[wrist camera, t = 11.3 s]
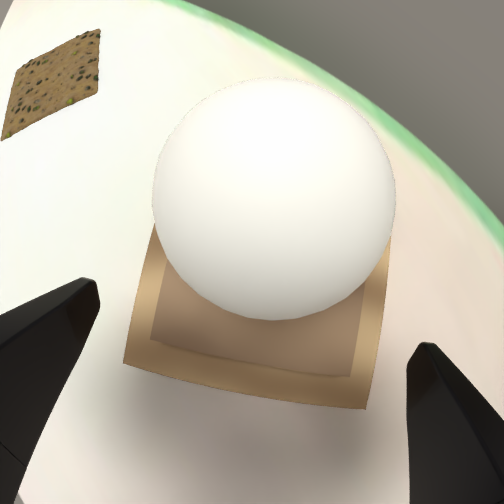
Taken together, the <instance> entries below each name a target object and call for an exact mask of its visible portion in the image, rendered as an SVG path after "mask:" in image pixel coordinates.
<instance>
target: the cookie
mask: <svg viewBox="0 0 504 504" xmlns="http://www.w3.org/2000/svg"><path fill="white" fill-rule="evenodd" d="M100 32H101V31H100V29H96V30H93V31H90V32H89V31H87V32H85V33H83V34H82V35H78V36H76V37H75V38H73V39H71V40H69V41H67V42H66V43H64V44H62V45H60V46H58V47H56V48H55V49H53V50H51V51H49V52H47V53H45V54H43V55H40V56H38V57H37V58H35V59H31V60H30V61H29V62H28V63H27V64H24V65H23V66H22V67H21V68H19V69H18V70H17V72H16V75H15V78H14V82H13V86H12V88H11V94H10V98H9V102H8V106H7V111H6V114H5V120H4V125H3V130H2V136H1V141H3V140H4V139H6V138H9V137H11V136H12V135H13V134H15V133H17V132H19V131H20V130H23V129H24V128H26V127H27V126H29V125H31V124H33V123H35V122H37V121H39V120H41V119H42V118H44V117H46V116H48V115H51V114H53V113H55V112H57V111H59V110H61V109H63V108H65V107H67V106H69V105H72V104H74V103H76V102H78V101H80V100H83V99H85V98H87V97H90V96H92V95H94V94H96V93H97V91H98V73H99V70H98V62H99V43H100Z"/></svg>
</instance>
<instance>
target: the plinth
mask: <svg viewBox="0 0 504 504" xmlns="http://www.w3.org/2000/svg"><path fill="white" fill-rule="evenodd" d="M390 242H391V236H390V238H389V241H388V243H387V245H386V248H385V250H384V252H383V255H382V257H381V258H380V260H379V262H378V263H377V265H376V266H375V268H374V269H373V270H372V272H371V273H370V275H369V276H368V277H367V279H366V280H365V281H364V282H363V283H362V284H361V285H360V286H359V287H358V288H357V289H356V290H355V291H353V292H352V293H351V294H350V295H349V296H348V297H347V298H345V299H343V300H342V301H340V302H338V303H336V304H334V305H333V306H331V307H329V308H327V309H325V310H323V311H320V312H317V313H313V314H310V315H307V316H303V317H300V318H297V319H286V320H274V321H271V320H263V319H254V318H247V317H244V316H241V315H238V314H235V313H232V312H229V311H226V310H224V309H222V308H220V307H219V306H217V305H215V304H214V303H212V302H210V301H209V300H207V299H205V298H203V297H202V296H200V295H199V294H198V293H197V292H196V291H195V290H193V289H192V288H191V287H190V286H189V285H188V284H187V283H186V282H185V281H184V280H183V279H182V278H181V277H180V276H179V274H178V273H177V272H176V270H175V269H174V267H173V266H172V264H171V263H170V262H169V260H168V259H167V257H166V254H165V252H164V249H163V247H162V245H161V242H160V240H159V237H158V234H157V231H156V227H155V223H154V227H153V230H152V234H151V238H150V242H149V245H148V249H147V253H146V257H145V261H144V265H143V269H142V273H141V277H140V281H139V286H138V290H137V294H136V299H135V303H134V308H133V313H132V317H131V322H130V327H129V332H128V337H127V343H126V348H125V354H124V359H123V363H124V364H127V365H130V366H133V367H137V368H140V369H143V370H147V371H150V372H154V373H157V374H161V375H164V376H168V377H172V378H176V379H180V380H183V381H187V382H192V383H196V384H200V385H204V386H209V387H213V388H218V389H222V390H227V391H232V392H237V393H242V394H247V395H253V396H258V397H264V398H270V399H276V400H283V401H290V402H297V403H304V404H312V405H321V406H330V407H340V408H352V409H365V410H366V405H367V401H368V397H369V392H370V387H371V382H372V378H373V373H374V367H375V362H376V356H377V351H378V345H379V339H380V332H381V326H382V319H383V311H384V304H385V296H386V287H387V277H388V267H389V255H390Z"/></svg>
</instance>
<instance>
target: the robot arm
mask: <svg viewBox="0 0 504 504" xmlns="http://www.w3.org/2000/svg"><path fill="white" fill-rule="evenodd" d="M99 309H100V299H99V294H98V289H97V284H96V282H95V281H94V280H92V279H89V278H85V277H81V278H79V279H77V280H74V281H72V282H70V283H68V284H66V285H63V286H61V287H59V288H57V289H55V290H52V291H50V292H48V293H46V294H44V295H41V296H39V297H37V298H35V299H33V300H31V301H29V302H27V303H24V304H22V305H20V306H18V307H16V308H14V309H12V310H10V311H8V312H6V313H4V314H1V315H0V504H14V501H15V498H16V495H17V493H18V490H19V487H20V485H21V482H22V479H23V477H24V474H25V472H26V469H27V466H28V464H29V461H30V459H31V457H32V454H33V452H34V449H35V447H36V445H37V442H38V440H39V438H40V436H41V433H42V431H43V429H44V427H45V425H46V422H47V420H48V418H49V416H50V414H51V412H52V410H53V408H54V405H55V403H56V401H57V399H58V397H59V395H60V393H61V391H62V389H63V387H64V385H65V383H66V381H67V379H68V377H69V375H70V373H71V372H72V370H73V368H74V366H75V364H76V362H77V360H78V358H79V356H80V354H81V352H82V350H83V348H84V345H85V343H86V340H87V338H88V336H89V333H90V331H91V328H92V326H93V324H94V321H95V319H96V317H97V315H98V312H99ZM406 373H407V406H406V416H407V432H408V448H409V479H410V504H504V420H503V419H502V418H501V417H500V415H499V414H498V413H497V412H496V411H495V410H494V408H493V407H492V406H491V405H490V404H489V403H488V401H487V400H486V399H485V398H484V397H483V396H482V395H481V393H480V392H479V391H478V390H477V389H476V388H475V387H474V385H473V384H472V383H471V382H470V381H469V380H468V379H467V378H466V377H465V375H464V374H463V373H462V372H461V371H460V370H459V369H458V368H457V367H456V366H455V364H454V363H453V362H452V361H451V360H450V359H449V358H448V357H447V356H446V355H445V354H444V353H443V352H442V350H441V349H440V348H439V347H438V346H437V345H436V344H434V343H429V342H422V343H420V344H419V345H418V347H417V349H416V350H415V352H414V353H413V355H412V357H411V358H410V360H409V361H408V364H407V370H406Z"/></svg>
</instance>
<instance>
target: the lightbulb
mask: <svg viewBox="0 0 504 504" xmlns="http://www.w3.org/2000/svg"><path fill="white" fill-rule="evenodd" d="M395 208H396V189H395V179H394V175H393V171H392V167H391V164H390V160H389V158H388V156H387V154H386V152H385V150H384V148H383V146H382V144H381V142H380V140H379V138H378V136H377V134H376V133H375V131H374V130H373V128H372V127H371V126H370V125H369V123H368V122H367V121H366V119H365V118H364V117H363V116H362V115H361V114H360V113H358V112H357V111H356V110H355V109H354V108H353V107H352V106H351V105H350V104H348V103H347V102H346V101H344V100H343V99H341V98H340V97H338V96H336V95H335V94H333V93H332V92H330V91H328V90H326V89H324V88H321V87H319V86H317V85H314V84H311V83H308V82H304V81H300V80H296V79H288V78H279V77H274V78H258V79H252V80H247V81H242V82H240V83H237V84H234V85H231V86H229V87H226V88H224V89H221V90H219V91H217V92H216V93H214V94H212V95H210V96H209V97H207V98H205V99H204V100H202V101H201V102H200V103H198V104H197V105H196V106H195V107H194V108H192V109H191V110H190V111H189V112H188V113H187V114H186V115H185V116H184V118H183V119H182V120H181V121H180V123H179V124H178V125H177V126H176V128H175V129H174V130H173V131H172V133H171V134H170V135H169V137H168V139H167V141H166V143H165V145H164V147H163V149H162V151H161V153H160V155H159V158H158V162H157V166H156V169H155V173H154V180H153V193H152V210H153V216H154V221H155V227H156V231H157V234H158V237H159V240H160V242H161V245H162V247H163V249H164V252H165V254H166V257H167V259H168V260H169V262H170V263H171V264H172V266H173V267H174V269H175V270H176V272H177V273H178V274H179V276H180V277H181V278H182V279H183V280H184V281H185V282H186V283H187V284H188V285H189V286H190V287H191V288H192V289H193V290H195V291H196V292H197V293H198V294H199V295H200V296H202V297H203V298H205V299H207V300H209V301H210V302H212V303H214V304H215V305H217V306H219V307H220V308H222V309H224V310H226V311H229V312H232V313H235V314H238V315H241V316H244V317H247V318H254V319H263V320H271V321H274V320H286V319H297V318H300V317H303V316H307V315H310V314H313V313H317V312H320V311H323V310H325V309H327V308H329V307H331V306H333V305H334V304H336V303H338V302H340V301H342V300H343V299H345V298H347V297H348V296H349V295H350V294H351V293H352V292H353V291H355V290H356V289H357V288H358V287H359V286H360V285H361V284H362V283H363V282H364V281H365V280H366V279H367V277H368V276H369V275H370V273H371V272H372V270H373V269H374V268H375V266H376V265H377V263H378V262H379V260H380V258H381V257H382V255H383V252H384V250H385V248H386V245H387V243H388V241H389V238H390V236H391V232H392V227H393V221H394V215H395Z"/></svg>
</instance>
